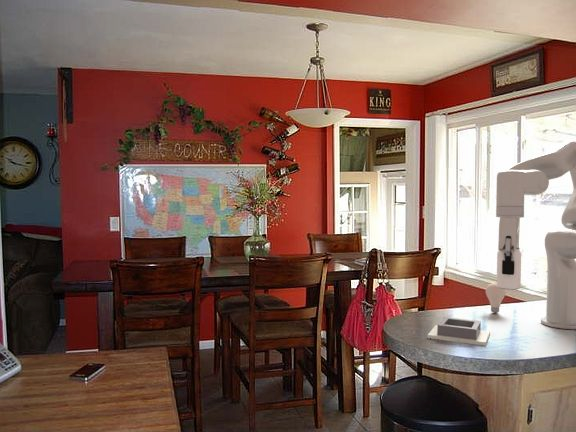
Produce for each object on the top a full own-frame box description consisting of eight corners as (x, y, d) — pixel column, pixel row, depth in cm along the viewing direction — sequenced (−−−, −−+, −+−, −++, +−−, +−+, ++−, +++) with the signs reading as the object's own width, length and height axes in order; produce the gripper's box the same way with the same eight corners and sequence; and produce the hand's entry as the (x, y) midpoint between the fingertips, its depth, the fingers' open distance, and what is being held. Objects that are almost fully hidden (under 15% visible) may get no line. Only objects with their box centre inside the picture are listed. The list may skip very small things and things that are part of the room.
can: (492, 286, 150) (493, 246, 150) (513, 285, 151) (514, 246, 150) (503, 290, 144) (504, 249, 143) (524, 289, 144) (525, 248, 144)
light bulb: (481, 311, 180) (481, 281, 180) (496, 310, 182) (496, 280, 182) (493, 316, 174) (494, 284, 173) (509, 314, 176) (509, 283, 175)
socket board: (490, 334, 150) (490, 321, 150) (485, 345, 139) (485, 331, 139) (435, 327, 158) (436, 315, 157) (427, 338, 146) (427, 324, 146)
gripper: (498, 211, 156) (497, 268, 156) (493, 213, 140) (492, 276, 141) (524, 211, 152) (523, 269, 153) (523, 213, 137) (521, 278, 137)
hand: (508, 272), depth 147 cm, fingers closed on can, 6 cm apart
